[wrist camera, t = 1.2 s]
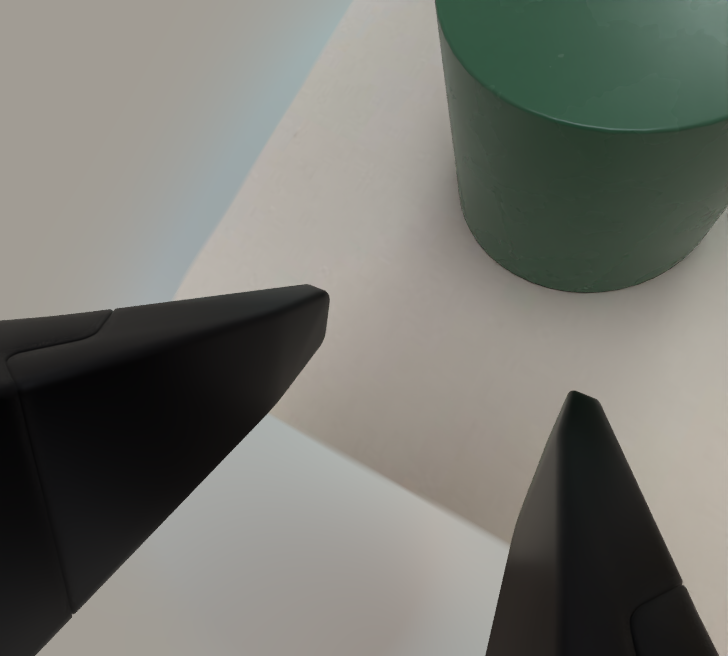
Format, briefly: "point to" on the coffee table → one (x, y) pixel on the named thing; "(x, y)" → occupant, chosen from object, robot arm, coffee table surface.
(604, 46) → the green cylinder
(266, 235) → the coffee table surface
